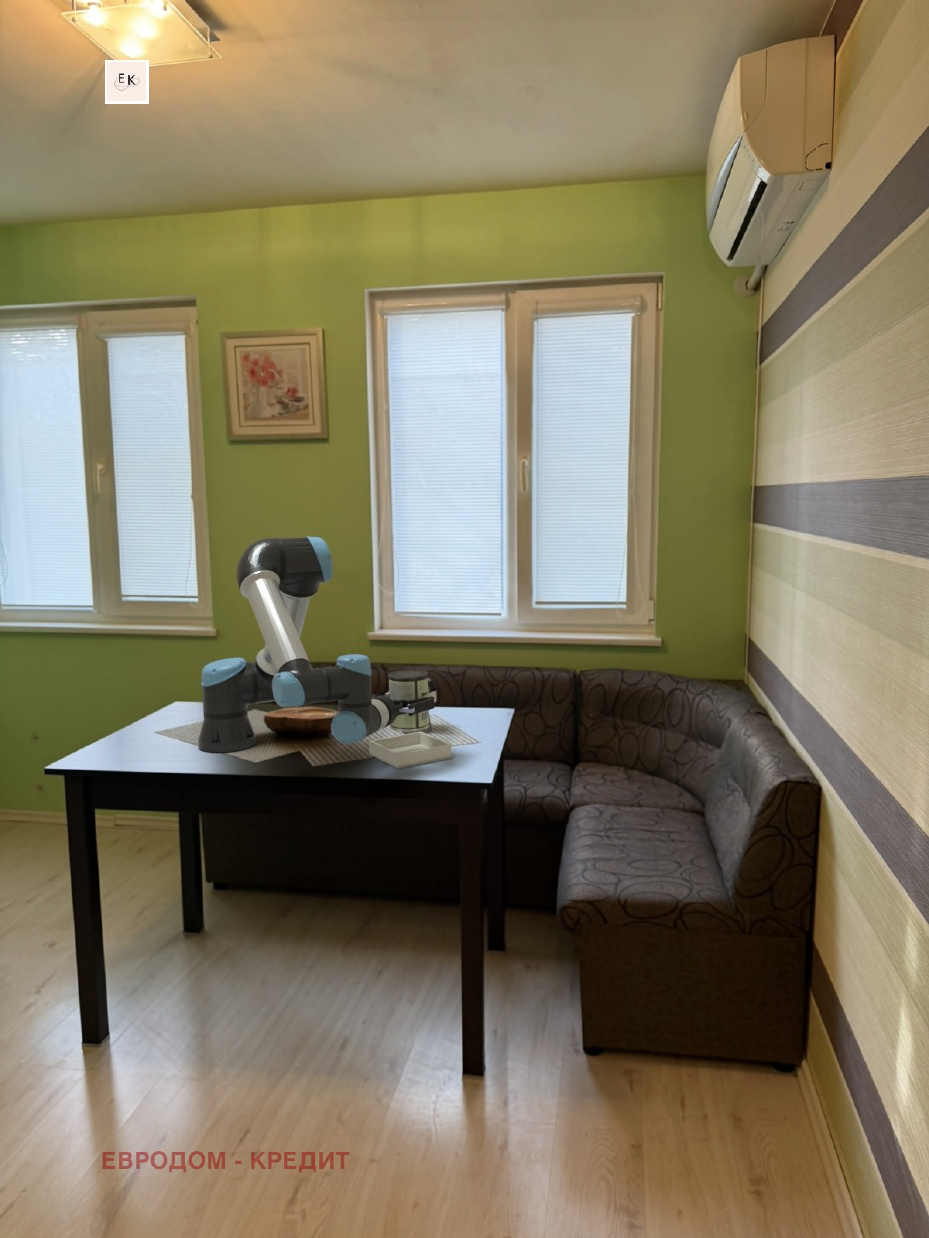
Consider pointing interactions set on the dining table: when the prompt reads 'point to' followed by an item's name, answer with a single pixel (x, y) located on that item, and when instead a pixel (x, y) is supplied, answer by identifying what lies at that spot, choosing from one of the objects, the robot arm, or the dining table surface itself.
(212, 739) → the robot arm
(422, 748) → the tray
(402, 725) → the coffee can
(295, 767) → the dining table surface
